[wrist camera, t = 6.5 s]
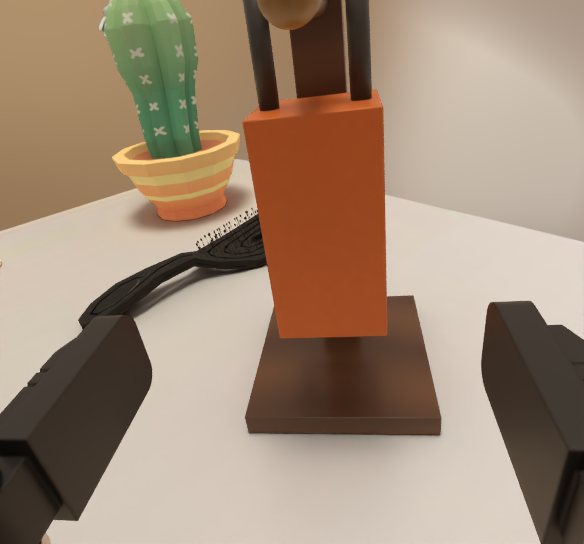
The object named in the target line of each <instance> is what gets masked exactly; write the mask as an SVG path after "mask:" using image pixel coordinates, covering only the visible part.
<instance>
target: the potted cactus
mask: <svg viewBox="0 0 584 544" xmlns="http://www.w3.org/2000/svg"><path fill="white" fill-rule="evenodd" d="M103 11H104V12H103V13H104V18H103V19H102V20H101V23H100V26H99V31H103V32H104V37H107V40H108V42H109V45H110V48H111V51H112V54H113V57H114V60H115V63H116V66H117V68H118V71H119V73H120V74H121V76H122V78H123V79H124V81H125V82H126V84H127V86H128V87H129V89H130V91H131V92H132V94H133V97H134V101H135V105H136V108H137V112H138V115H139V120H140V123H141V127H142V130H143V134H144V138H145V142H142V143H139V144H136V145H133V146H131V147H128V148H125V149H123V150H121V151H120V152H119V153H117V154H116V155H114V156H113V157H112V159H113V161H114V162H115V164H116V166H117V167H118V169H119V170H120V171H121V172H122V173H123V174H124V175H125V176H129V177H130V179H131V180H132V182H133V183H134V184H135V185H136V187H137V188H138V190H139V191H140V192H141V193H142V194H143V195H144V196H145V197H146V198H147V199H148V200H150V201H151V202H152V203H153V204H155V205H156V206H157V210H158V215H159V216H160V217H161V218H162V219H164V220H172V221H182V220H190V219H197V218H200V217H203V216H206V215H209V214H213V213H215V212H216V211H218V210H219V209H221V208H223V207H224V206H225V204H226V201H227V198H226V196H225V194H224V191H225V189H226V186H227V184H228V182H229V179H230V177H231V174H232V168H233V161H234V155H236V153H237V151H238V149H239V144H240V143H239V142H240V141H239V140H240V134H238V133H234V132H231V131H228V130H209V131H208V130H205V131H199V129H198V118H197V109H196V108H197V107H196V97H195V79H196V71H197V64H198V55H197V49H196V42H195V36H194V29H193V22H192V17H191V16H190V15H189V13H188V12H187V11H186V9H185V8H184V6H183V5H182V4H181V2H180V1H179V0H110V2H109V5H108V6H106V7H105V8H104V10H103Z"/></svg>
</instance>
